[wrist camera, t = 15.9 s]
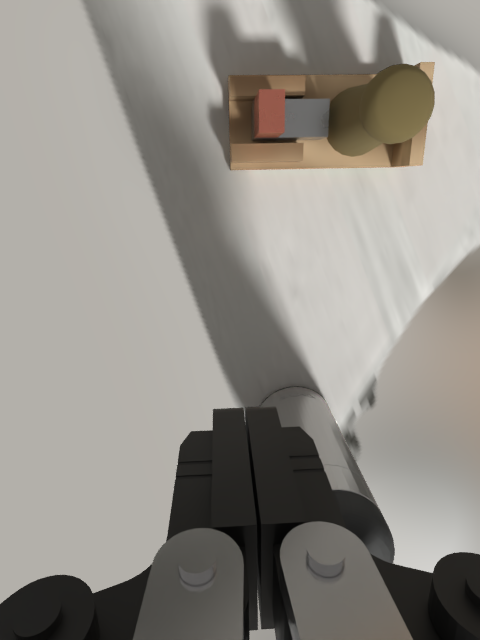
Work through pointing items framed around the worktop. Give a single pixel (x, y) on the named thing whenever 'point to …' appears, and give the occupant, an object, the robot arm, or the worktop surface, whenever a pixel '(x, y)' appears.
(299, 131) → the red grey l-shaped block
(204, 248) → the worktop surface
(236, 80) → the light brown wooden holder
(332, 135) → the olive rounded piece
